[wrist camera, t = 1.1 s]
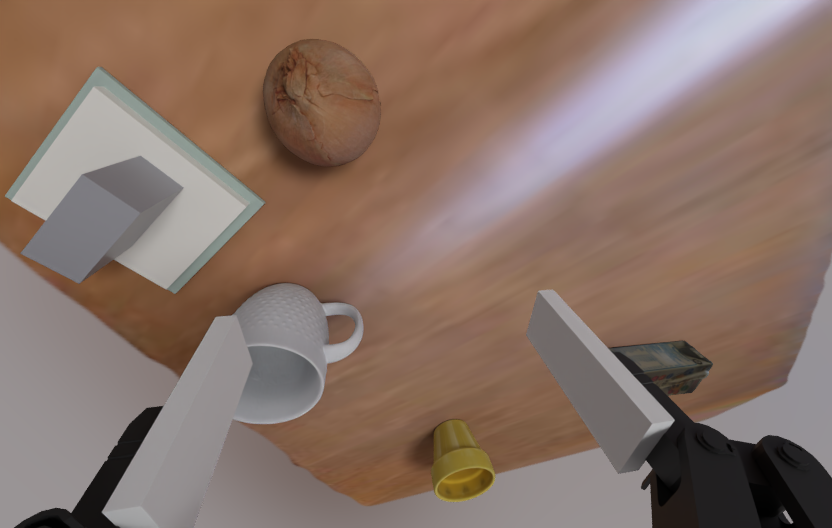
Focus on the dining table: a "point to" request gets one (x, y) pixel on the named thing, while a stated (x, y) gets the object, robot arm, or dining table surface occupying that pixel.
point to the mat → (129, 98)
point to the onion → (321, 102)
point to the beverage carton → (669, 365)
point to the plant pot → (459, 463)
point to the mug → (288, 351)
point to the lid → (122, 197)
